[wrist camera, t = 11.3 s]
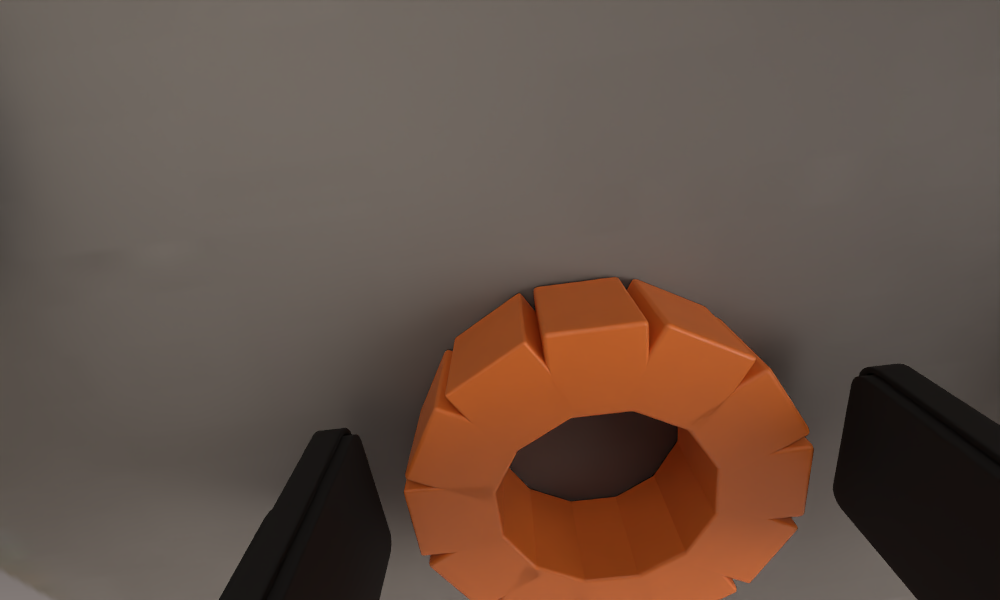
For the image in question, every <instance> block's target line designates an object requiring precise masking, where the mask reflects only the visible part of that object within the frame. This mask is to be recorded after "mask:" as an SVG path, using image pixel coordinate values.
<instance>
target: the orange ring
mask: <svg viewBox="0 0 1000 600" xmlns="http://www.w3.org/2000/svg"><path fill="white" fill-rule="evenodd" d="M533 293H534V302H535V310H536V312H535V311H534V309H533V308H532V307H531V306H530V304H529V303H528V302H527V301H526V300H525V298H524V297H523V296H522V295H521V294H520V293H518V294H516V295H515V296H513V297H512V298H511V299H509V300H508V301H506V302H505V303H504V304H502V305H501V306H499V307H498V308H497V309H495V310H494V311H492V312H491V313H490V314H488V315H487V316H485V317H484V318H483V319H481V320H480V321H478V322H477V323H476V324H474V325H473V326H471V327H470V328H469V329H467V330H466V331H464V332H463V333H462V334H460V335H459V336H457V337H456V338H455V342H454V347H453V351H451V350H447V351H446V352H445V353H444V355H443V358H442V360H441V363H440V365H439V367H438V370H437V372H436V375H435V377H434V380H433V382H432V384H431V387H430V389H429V392H428V394H427V397H426V399H425V401H424V404H423V406H422V409H421V412H420V416H419V420H418V425H417V429H416V433H415V437H414V441H413V445H412V449H411V453H410V457H409V461H408V465H407V469H406V473H405V477H406V479H407V480H406V484H405V488H404V495H405V499H406V502H407V506H408V509H409V513H410V516H411V520H412V523H413V527H414V530H415V534H416V537H417V541H418V544H419V548H420V551H421V554H422V555H431V556H430V562H429V564H430V566H431V568H433V569H434V570H435V571H436V572H437V573H439V574H440V575H441V576H442V577H443V578H445V579H446V580H447V581H448V582H449V583H451V584H452V585H453V586H454V587H455V588H457V589H458V590H459V591H460V592H461V593H463V594H464V595H465V596H466V597H467V598H469V599H470V600H720V599H722V598H724V597H726V596H728V595H731V594H733V593H735V592H736V591H737V590H736V586H735V584H734V582H733V580H732V578H733V579H736V580H740V581H743V582H746V583H750V582H751V581H752V580H753V579H754V578H755V577H756V575H757V574H758V573H759V572H760V571H761V570H762V569H763V568H764V566H765V565H766V564H767V563H768V562H769V561H770V560H771V559H772V557H773V556H774V555H775V554H776V553H777V552H778V551H779V550H780V548H781V547H782V546H783V545H784V544H785V543H786V542H787V541H788V539H789V538H790V537H791V536H792V535H793V534H794V533H795V532H796V530H797V529H798V527H797V525H796V524H795V523H794V521H793V520H792V518H791V517H797V516H802V515H803V514H804V511H805V505H806V498H807V491H808V485H809V478H810V472H811V465H812V459H813V452H814V448H813V446H812V444H811V443H810V442H809V441H808V440H807V439H806V438H805V436H807V435H808V434H809V428H808V426H807V424H806V423H805V421H804V420H803V418H802V417H801V415H800V413H799V412H798V410H797V409H796V407H795V406H794V404H793V402H792V401H791V399H790V398H789V396H788V395H787V393H786V392H785V390H784V388H783V387H782V385H781V384H780V382H779V381H778V379H777V377H776V376H775V374H774V373H773V371H772V370H771V368H770V367H769V366H767V365H766V364H765V363H764V362H763V361H762V360H761V359H760V358H759V357H758V356H757V355H756V354H755V353H754V352H753V351H752V350H751V349H750V348H749V347H748V346H747V345H746V344H745V343H744V342H743V341H742V340H741V339H740V338H739V337H738V336H737V335H736V334H735V333H734V332H733V331H732V330H731V329H730V328H729V327H728V326H727V325H726V324H725V323H724V322H723V321H722V320H721V319H719V318H717V317H715V316H714V315H713V314H712V313H711V312H710V311H709V310H708V309H707V308H706V307H705V306H702V305H700V304H697V303H695V302H692V301H690V300H687V299H685V298H682V297H680V296H677V295H675V294H672V293H670V292H667V291H665V290H662V289H660V288H657V287H655V286H652V285H650V284H647V283H645V282H642V281H640V280H637V279H633V280H632V281H631V283H630V285H629V287H628V289H627V290H626V289H625V287H624V286H623V284H622V283H621V281H620V280H619V278H617V277H611V278H603V279H596V280H588V281H580V282H572V283H565V284H557V285H549V286H541V287H536V288H534V291H533ZM629 411H634V412H637V413H640V414H643V415H646V416H649V417H652V418H654V419H657V420H660V421H663V422H666V423H669V424H671V425H674V426H677V427H678V441H677V442H676V444H675V445H674V447H673V448H672V450H671V451H670V453H669V454H668V456H667V457H666V458H665V460H664V461H663V463H662V464H661V466H660V467H659V469H658V470H657V472H656V473H655V475H654V476H653V477H651V478H649V479H647V480H645V481H643V482H642V483H640V484H638V485H636V486H634V487H633V488H631V489H629V490H627V491H625V492H624V493H622V494H620V495H618V496H616V497H608V498H599V499H589V500H580V501H567V500H564V499H561V498H558V497H554V496H551V495H548V494H545V493H542V492H538V491H535V490H532V489H529V488H528V487H527V486H526V485H525V484H524V483H523V482H522V481H521V480H520V479H519V477H518V476H517V475H516V474H515V473H514V472H513V471H512V470H511V469H510V468H509V467H510V465H511V463H512V461H513V459H514V457H515V455H516V453H517V452H518V450H520V449H522V448H523V447H525V446H527V445H528V444H530V443H531V442H533V441H535V440H536V439H538V438H540V437H541V436H543V435H544V434H546V433H548V432H549V431H551V430H553V429H554V428H556V427H557V426H559V425H561V424H562V423H564V422H566V421H567V420H569V419H570V418H577V417H586V416H594V415H603V414H612V413H620V412H629Z"/></svg>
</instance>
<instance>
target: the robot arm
mask: <svg viewBox="0 0 1000 600" xmlns="http://www.w3.org/2000/svg"><path fill="white" fill-rule="evenodd" d="M833 492H834V496H835V499H836V501H837V503H838V505H839V506H840V508H841V509H842V510H843V511H844V512H845V514H846V515H847V516H848V517H849V518H850V520H851V521H852V522H853V523H854V524H855V526H856V527H857V528H858V529H859V530H860V532H861V533H862V534H863V535H864V536H865V537H866V539H867V540H868V541H869V542H870V543H871V545H872V546H873V547H874V548H875V549H876V551H877V552H878V553H879V554H880V555H881V557H882V558H883V559H884V560H885V561H886V563H887V564H888V565H889V566H890V567H891V568H892V570H893V571H894V572H895V573H896V574H897V576H898V577H899V578H900V579H901V580H902V582H903V583H904V584H905V585H906V586H907V588H908V589H909V590H910V591H911V592H912V593H913V595H914V596H915V597H916V598H917V599H918V600H1000V425H998V424H997V423H995V422H994V421H992V420H991V419H989V418H987V417H986V416H984V415H983V414H981V413H980V412H978V411H977V410H975V409H974V408H972V407H970V406H969V405H967V404H966V403H964V402H963V401H961V400H960V399H958V398H957V397H955V396H954V395H952V394H950V393H949V392H947V391H946V390H944V389H943V388H941V387H940V386H938V385H937V384H935V383H933V382H932V381H930V380H929V379H927V378H926V377H924V376H923V375H921V374H920V373H918V372H917V371H915V370H913V369H912V368H910V367H909V366H906V365H904V364H891V365H882V366H873V367H867V368H864V369H863V370H862V371H861V372H860V374H859V376H858V377H855V378H854V379H853V381H852V384H851V389H850V395H849V400H848V406H847V411H846V417H845V422H844V428H843V433H842V439H841V445H840V450H839V456H838V461H837V467H836V472H835V478H834V484H833ZM390 552H391V534H390V530H389V527H388V524H387V521H386V518H385V514H384V511H383V508H382V505H381V502H380V499H379V495H378V492H377V489H376V486H375V483H374V480H373V476H372V473H371V470H370V467H369V464H368V460H367V457H366V454H365V451H364V448H363V445H362V441H361V439H360V437H359V436H358V435H356V434H355V435H352V434H351V432H350V431H349V429H347V428H341V429H332V430H324V431H318V432H316V433H315V434H314V435H313V437H312V439H311V440H310V442H309V444H308V446H307V448H306V449H305V451H304V453H303V455H302V457H301V458H300V460H299V462H298V464H297V466H296V467H295V469H294V471H293V473H292V475H291V476H290V478H289V480H288V482H287V484H286V486H285V487H284V489H283V491H282V493H281V495H280V496H279V498H278V500H277V502H276V504H275V505H274V507H273V509H272V510H271V511H269V513H268V514H267V516H266V517H265V518H264V520H263V522H262V524H261V525H260V527H259V529H258V531H257V532H256V534H255V536H254V538H253V540H252V541H251V543H250V545H249V547H248V549H247V550H246V552H245V554H244V556H243V557H242V559H241V561H240V563H239V565H238V566H237V568H236V570H235V572H234V573H233V575H232V577H231V579H230V581H229V582H228V584H227V586H226V588H225V590H224V591H223V593H222V595H221V597H220V598H219V600H379V599H380V595H381V590H382V586H383V582H384V578H385V574H386V569H387V565H388V561H389V557H390Z"/></svg>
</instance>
